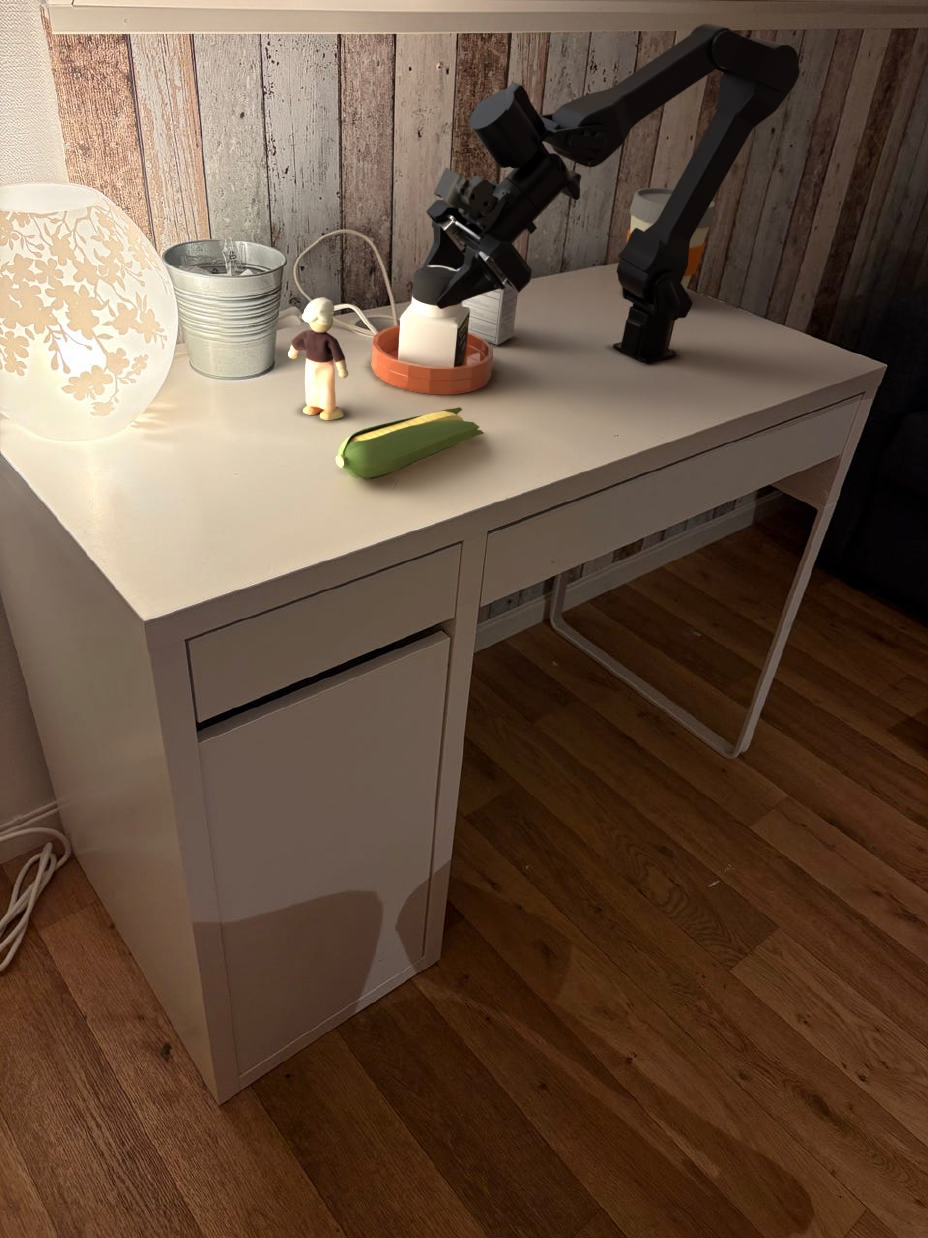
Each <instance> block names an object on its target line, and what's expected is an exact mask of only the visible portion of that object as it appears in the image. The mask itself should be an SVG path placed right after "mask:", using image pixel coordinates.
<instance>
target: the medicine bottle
mask: <svg viewBox="0 0 928 1238" xmlns="http://www.w3.org/2000/svg"><path fill="white" fill-rule="evenodd" d="M457 272H458V271H457V270H455V269H453V268H450V267H446V266H439V265H430V266H425V267H423V266H422V267H419V268H417V269H416V270H415V271H414V272H413V276H412V277H413V278H412V281H413V282H412V291H411V292H412V293H411V303H410V304H409V306H408V307H407V308H406V310H404V312H403V313H402V314H401V315H400V320H399V321H400V322H399V323H400V324H399V325H400V337H399V353H398V359H399V360H402V361H405V362H409V363H412V364H418V365H424V366H430V367H459V366H462V365H463V364H464V362H465V355H466V345H467V336H468V326H469V316H470V308H469V307H464V306H462V301H461V302H459V303H456V304H454V305H451V306H448V307H446V308H443V309H440V308H438V306H437V305H436V304H435V301H436V299H437V298H438V296H439V295H440V294H441V292H442V291H443V290H444V288H445V287H446V286H447V284H448V283H449V282H450V281H451V279H452V278H453V277H454V276H455V274H456V273H457Z"/></svg>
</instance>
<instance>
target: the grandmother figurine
mask: <svg viewBox="0 0 928 1238" xmlns="http://www.w3.org/2000/svg"><path fill="white" fill-rule="evenodd" d="M334 315H335V304H333V301H332V300H331V299H328V298H326V297H325V296H323V297H317V298H314V299H312V300H311V301H310V302H309V303H308V304H307V306H306V307H305V308H304V311H303V314H302V315H301V317H302V321H304V322H305V323H308V324H309V326H310V328H311V329H307V330H304V331H301V332H300V333H298V334H297V335H296V336H294V338H292V339H291V341H290V342H291V345H290V349H289V351H288V352H287V355H288V357H289V358H290V359H292V360H295V359H297V357H298V355H299V353H300V352H301V351H305V370H304V371H305V372H304V388H305V403H306V406H305V407H304V408H303V410H302V412H303V413H304V414H305V415H309V416H314V415H317V414H319V413H320V414H319V418H320V419H322V420H324V421H333V420H337V419H340V418H343V417H344V412H343V410H342V409H341V408H340V407H338V406H337V400H336V370H335V366H336V368H337V370H338V377H339V378H341V379H346V378H347V377H348V376H349V370H348V369H347V362H346V357H345V354H344V352H343V349H342V348H341V345H340V342H339V341H338V339H337V338H336V337H335V336H333V335H331V334H330V333H328V331H329V330H331V328H332V327H333V325H334Z"/></svg>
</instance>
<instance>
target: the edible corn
mask: <svg viewBox="0 0 928 1238" xmlns="http://www.w3.org/2000/svg"><path fill="white" fill-rule="evenodd" d="M463 410H464V409H463V408H461V407H460V406H458V407H453V408H448V409H444V410H439V411H434V412H431V413H426V414H421V415H417V416H412V417H408V418H403V419H399V420H395V421H391V422H385V423H382V424H377V425H373V426H370V427H367V428H363V429H361V430H359V431H356V432H354V433H353V434H351V435H350V436H349V437H347V438H345V440H343V442H342V443H341V445H340V447H339V449H338V451H337V453H338V454H336V456H335V462H336V465H337V466H338V467H339V468H340V469H342V470H343V471H344V472H345V473H347V474H348V475H349V476H351V477H353V478H356V479H363V480H374V479H377V478H382V477H385V476H387V475H390V474H392V473H394V472H397V471H399V470H402V469H404V468H407V467H408V466H410V465H413V464H415V463H417V462H419V461H422V460H424V459H426V458H429V457H431V456H434V455H436V454H438V453H440V452H443V451H445V450H447V449H450V448H452V447H455V446H456V445H460V444H461V443H463V442H466V441H468V440H471V439H474V438H477V437H480V436H482V435H484V434H485V432H484V431H483V430H481V429H479V428H480V426H479V425H478V424H476V423H475V422H474V421H467V420H464V419H463V417H462V416H460V415H458V414H459V413H460V412H462V411H463Z"/></svg>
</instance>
